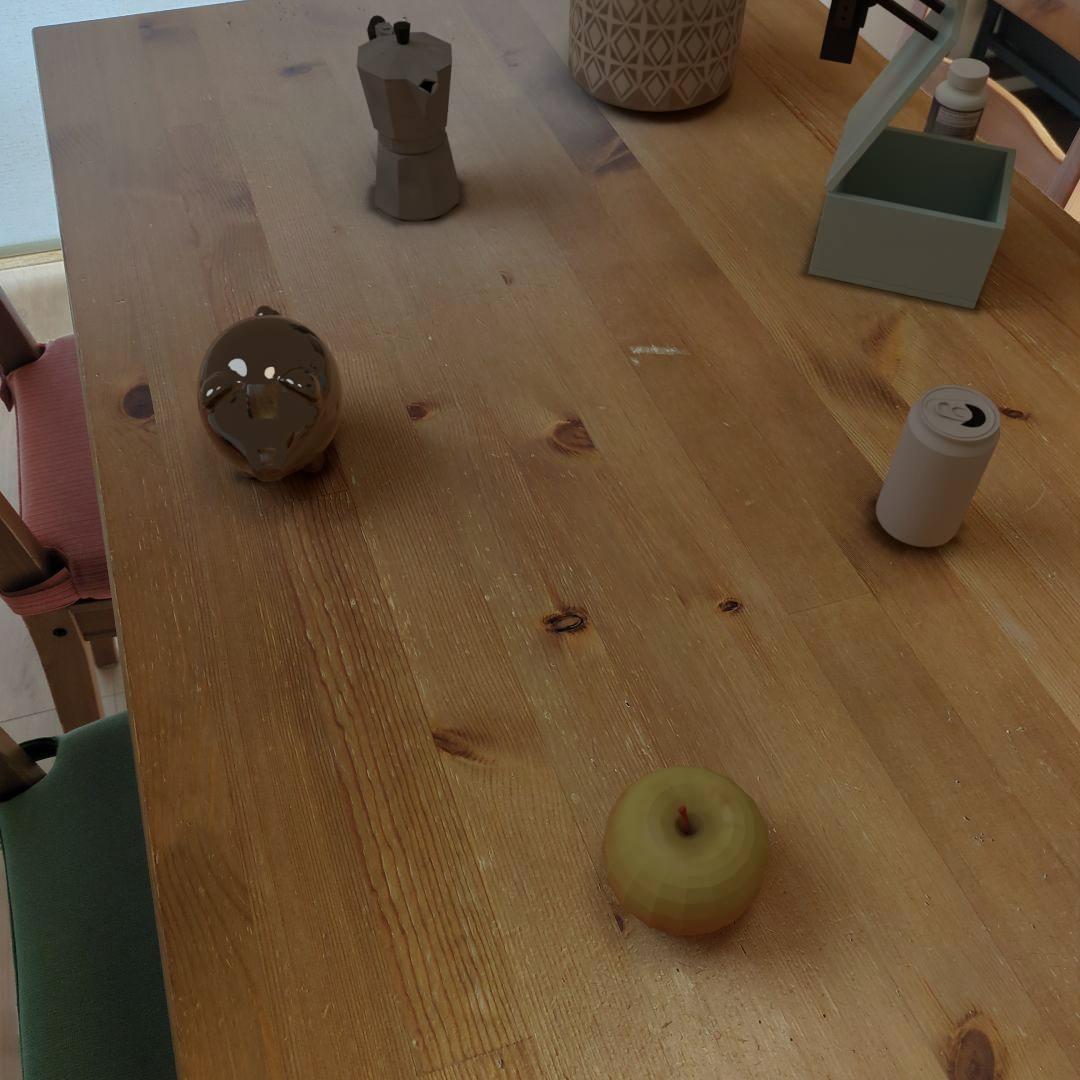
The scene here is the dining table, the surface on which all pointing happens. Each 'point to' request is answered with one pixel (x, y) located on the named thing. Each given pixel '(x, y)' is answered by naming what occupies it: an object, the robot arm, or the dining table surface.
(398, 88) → the coffeepot
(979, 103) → the pill bottle
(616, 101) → the planter
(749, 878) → the apple
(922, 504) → the beverage can
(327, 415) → the piggy bank
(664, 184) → the dining table surface
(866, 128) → the lid
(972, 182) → the open box
